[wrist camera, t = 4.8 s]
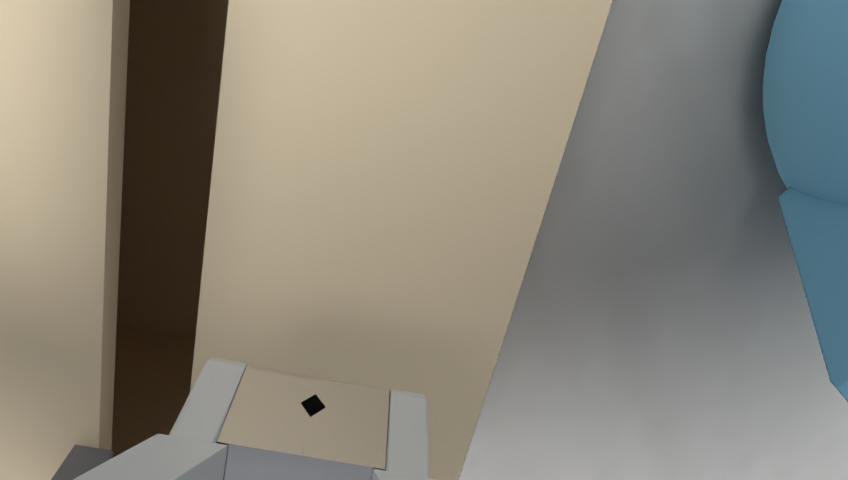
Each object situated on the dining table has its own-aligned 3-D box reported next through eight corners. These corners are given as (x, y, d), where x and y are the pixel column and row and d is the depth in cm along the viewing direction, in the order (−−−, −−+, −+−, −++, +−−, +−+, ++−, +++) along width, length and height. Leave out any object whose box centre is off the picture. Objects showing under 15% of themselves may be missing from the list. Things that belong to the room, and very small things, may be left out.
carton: (557, -141, 18) (690, -218, 9) (417, 382, 26) (417, 619, 17) (35, -278, 17) (-386, -520, 8) (42, 315, 24) (-177, 534, 15)
